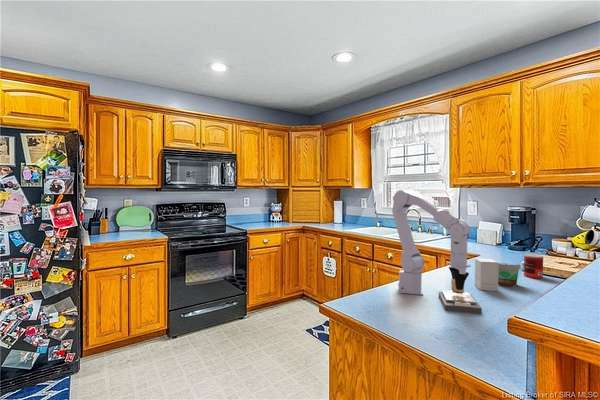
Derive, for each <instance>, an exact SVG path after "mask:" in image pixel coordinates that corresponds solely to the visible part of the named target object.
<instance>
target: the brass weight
mask: <svg viewBox="0 0 600 400" xmlns="http://www.w3.org/2000/svg"><path fill="white" fill-rule="evenodd" d="M450 281H451V282H450V283H451V286H450V289H451V290H450V291H452V292H453V293H458V294H462V293H464V292H465V286H464V287H463V290H457V289H456V286H455V279H452V278H451V280H450Z"/></svg>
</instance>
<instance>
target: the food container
mask: <svg viewBox="0 0 600 400" xmlns="http://www.w3.org/2000/svg"><path fill="white" fill-rule="evenodd" d="M521 269H522V268H521V264H510V263H506V262H502V263H499V269H498V286H502V287H508V288H509V287H510V288H511V287H516V286H517V283H518V279H519V278H518V277H519V271H520V270H521Z"/></svg>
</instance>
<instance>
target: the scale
mask: <svg viewBox="0 0 600 400" xmlns="http://www.w3.org/2000/svg"><path fill="white" fill-rule="evenodd" d="M470 295H471V296H472V297H473V299H474V300H475V301H476V304H474V303H467V302H452V301H446V299H445V297H444V295H443V293H442V291H438V299H439V301H440V302H441V305H442V307H443V309H444V311H449V312H450V311H451V312H459V313H467V314H468V313H470V314H480V315H482V313H483V308H482V307H481V305H480V304H479V302H477V300H476V299H475V298H474V296H473V295H472V294H471V293H470Z"/></svg>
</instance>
